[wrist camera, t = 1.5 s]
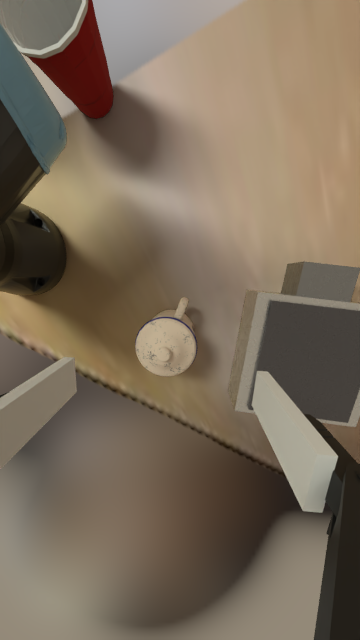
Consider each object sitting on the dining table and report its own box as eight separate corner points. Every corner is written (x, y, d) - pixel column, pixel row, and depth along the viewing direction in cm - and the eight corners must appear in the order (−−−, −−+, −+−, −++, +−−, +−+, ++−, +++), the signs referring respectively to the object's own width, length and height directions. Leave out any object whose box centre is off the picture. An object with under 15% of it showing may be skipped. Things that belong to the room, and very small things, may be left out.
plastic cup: (70, 37, 28) (-15, -134, 17) (139, 70, 29) (104, -73, 17) (51, 120, 31) (-36, 22, 19) (115, 149, 31) (69, 72, 19)
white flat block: (227, 390, 39) (235, 413, 32) (252, 260, 33) (266, 255, 27) (330, 404, 38) (358, 429, 32) (371, 273, 33) (415, 272, 26)
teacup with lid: (184, 361, 38) (182, 397, 27) (141, 344, 38) (119, 372, 26) (209, 304, 35) (218, 316, 24) (163, 285, 35) (149, 288, 24)
